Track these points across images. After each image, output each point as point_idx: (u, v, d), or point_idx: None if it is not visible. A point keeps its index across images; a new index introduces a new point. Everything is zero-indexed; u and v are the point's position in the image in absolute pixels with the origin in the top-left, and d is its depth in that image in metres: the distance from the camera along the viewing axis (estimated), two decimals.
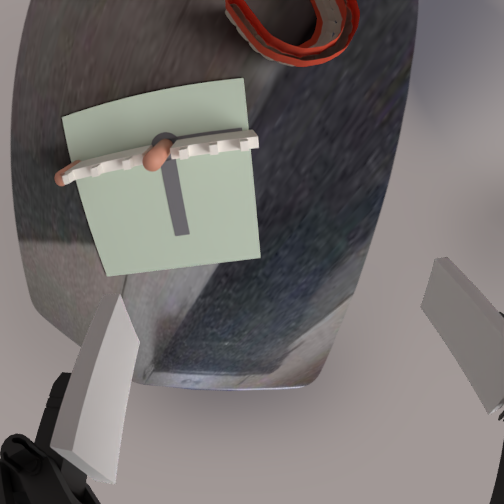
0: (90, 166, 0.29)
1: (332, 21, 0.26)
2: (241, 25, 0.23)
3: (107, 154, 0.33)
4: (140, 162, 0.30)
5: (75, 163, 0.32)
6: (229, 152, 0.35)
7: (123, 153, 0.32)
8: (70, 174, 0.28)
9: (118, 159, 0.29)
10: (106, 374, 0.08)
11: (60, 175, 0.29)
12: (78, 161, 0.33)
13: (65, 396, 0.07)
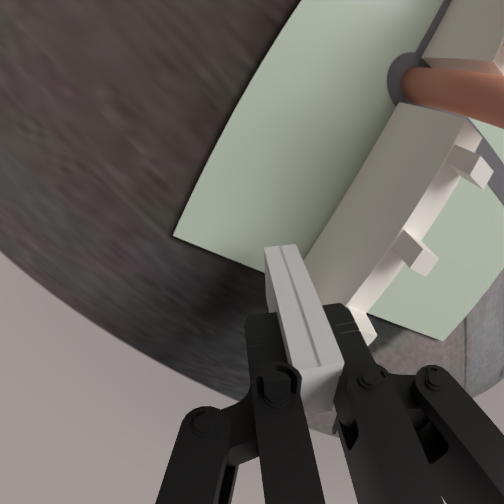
0: (383, 259, 0.11)
1: None
2: None
3: None
4: (474, 141, 0.08)
5: None
6: None
7: (391, 164, 0.12)
8: (357, 320, 0.11)
9: (433, 181, 0.09)
10: None
11: None
12: None
13: (285, 325, 0.09)
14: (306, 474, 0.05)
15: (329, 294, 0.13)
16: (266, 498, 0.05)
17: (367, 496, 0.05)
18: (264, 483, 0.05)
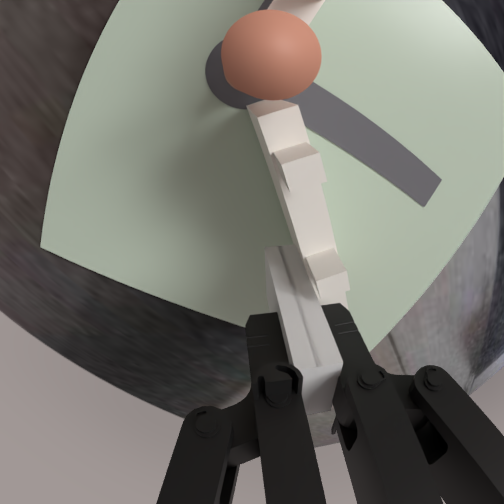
0: (314, 286, 0.11)
1: None
2: None
3: (286, 221, 0.15)
4: (292, 120, 0.08)
5: None
6: None
7: (275, 182, 0.12)
8: None
9: (289, 202, 0.09)
10: None
11: None
12: None
13: (286, 325, 0.09)
14: (307, 474, 0.05)
15: None
16: (267, 498, 0.05)
17: (366, 496, 0.05)
18: (265, 483, 0.05)
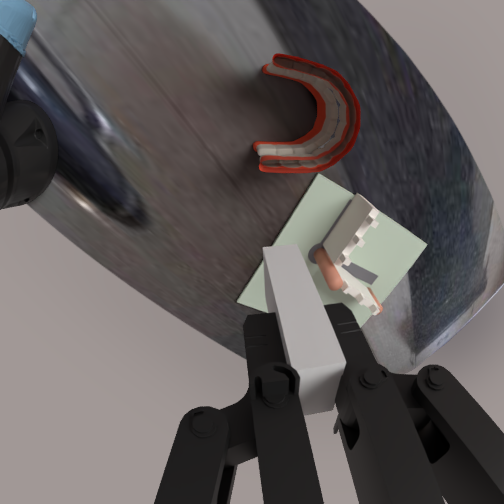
0: None
1: (318, 80, 0.30)
2: (292, 171, 0.31)
3: None
4: None
5: None
6: None
7: None
8: (371, 310, 0.44)
9: None
10: None
11: None
12: None
13: (284, 326, 0.09)
14: (305, 474, 0.05)
15: None
16: (265, 498, 0.05)
17: (368, 496, 0.05)
18: (263, 483, 0.05)
